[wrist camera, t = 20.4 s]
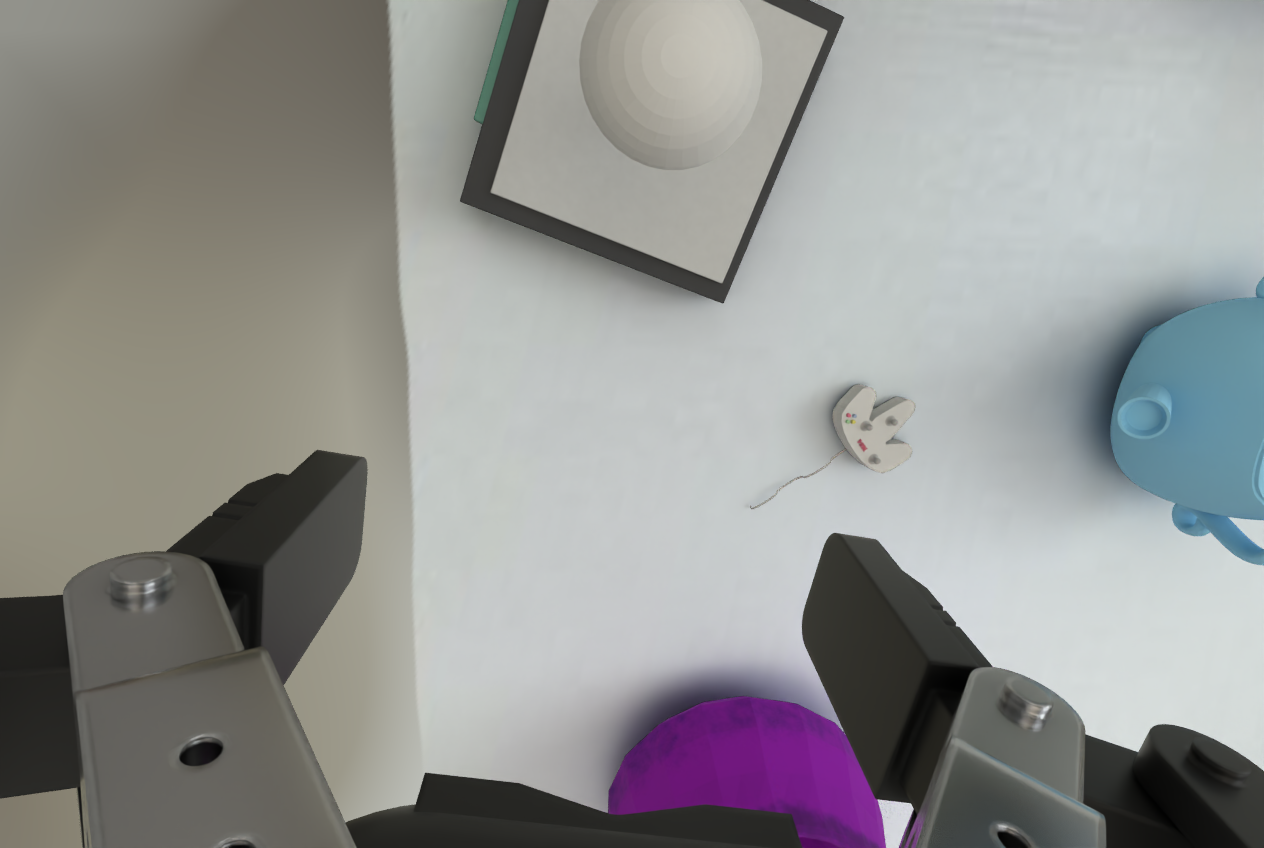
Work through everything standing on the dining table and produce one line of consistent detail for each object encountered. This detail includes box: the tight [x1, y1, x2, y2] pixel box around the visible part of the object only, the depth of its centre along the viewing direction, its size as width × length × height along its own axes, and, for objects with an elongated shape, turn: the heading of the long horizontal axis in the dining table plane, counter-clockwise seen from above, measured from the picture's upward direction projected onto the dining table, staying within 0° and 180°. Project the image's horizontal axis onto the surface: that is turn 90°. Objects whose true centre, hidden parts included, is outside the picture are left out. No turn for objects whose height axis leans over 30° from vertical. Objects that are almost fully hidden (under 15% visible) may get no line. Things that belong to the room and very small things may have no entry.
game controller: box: [750, 384, 915, 509], centre depth 43 cm, size 6×12×3 cm, turn 145°
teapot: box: [1110, 277, 1264, 565], centre depth 38 cm, size 20×17×12 cm
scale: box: [460, 0, 844, 303], centre depth 36 cm, size 16×15×4 cm
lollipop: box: [579, 0, 762, 170], centre depth 27 cm, size 6×6×15 cm
